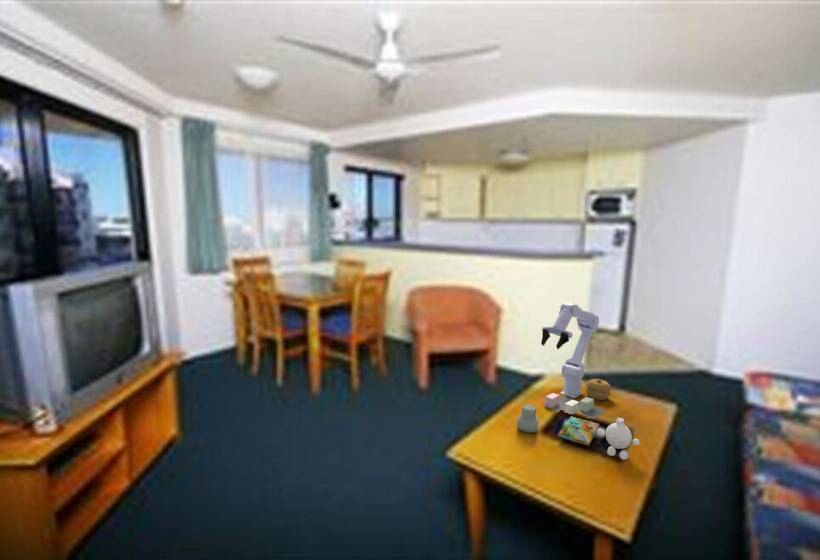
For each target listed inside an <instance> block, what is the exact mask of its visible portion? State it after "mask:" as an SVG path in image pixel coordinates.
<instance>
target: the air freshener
mask: <svg viewBox="0 0 820 560" xmlns="http://www.w3.org/2000/svg"><path fill="white" fill-rule="evenodd" d="M516 424H517V425H516V427H517V429H519V430H520V431H522V432H524V433H526V434H527V433H528V434H531V433H532V434H533V433H537V432H538V430H539V417H537V407H535V406H534V405H531V404H524V405H522V406H521V414H519V415H518V417H517V423H516Z"/></svg>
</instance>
